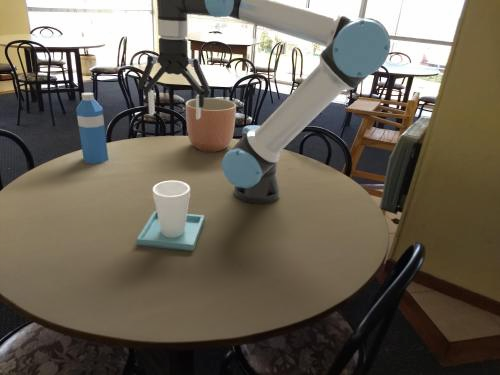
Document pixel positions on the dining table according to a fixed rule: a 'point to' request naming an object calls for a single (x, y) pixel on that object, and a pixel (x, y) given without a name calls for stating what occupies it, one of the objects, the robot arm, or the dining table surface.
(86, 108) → the water bottle
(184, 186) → the foam cup
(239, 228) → the dining table surface
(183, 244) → the tray
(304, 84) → the robot arm
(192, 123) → the planter
